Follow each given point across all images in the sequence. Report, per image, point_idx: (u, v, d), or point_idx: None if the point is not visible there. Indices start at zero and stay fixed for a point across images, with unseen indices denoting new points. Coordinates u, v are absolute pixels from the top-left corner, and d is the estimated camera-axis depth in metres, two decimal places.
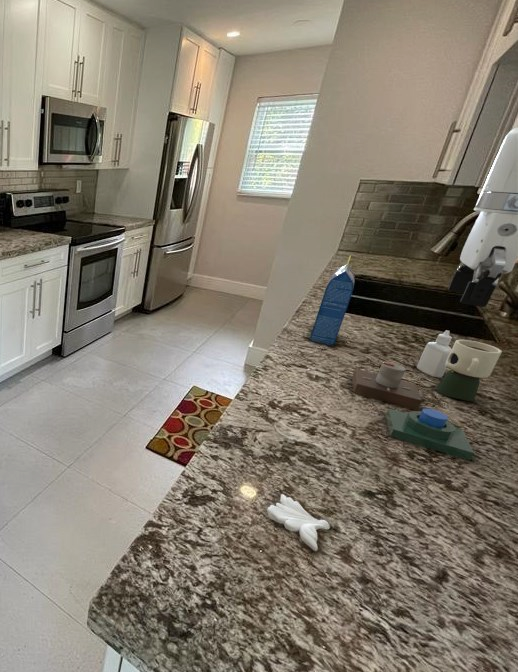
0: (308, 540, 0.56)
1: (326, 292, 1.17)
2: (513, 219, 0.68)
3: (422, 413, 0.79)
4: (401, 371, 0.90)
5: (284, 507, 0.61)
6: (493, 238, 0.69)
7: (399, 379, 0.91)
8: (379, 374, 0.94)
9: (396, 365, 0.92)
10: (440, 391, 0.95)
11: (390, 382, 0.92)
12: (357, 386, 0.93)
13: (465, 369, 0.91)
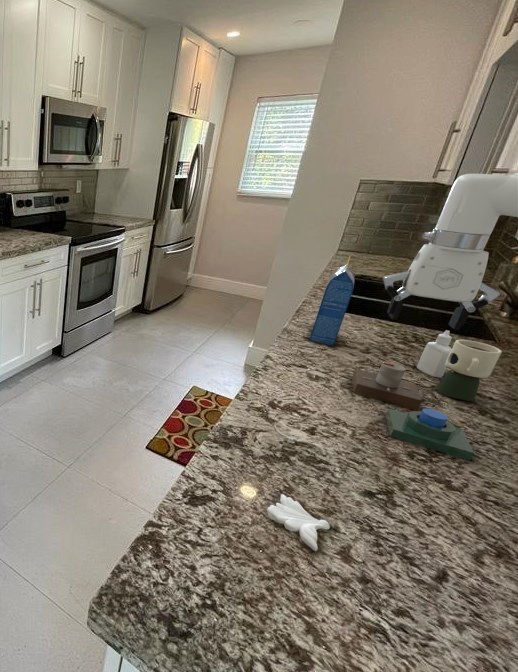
0: (308, 540, 0.56)
1: (326, 292, 1.17)
2: (422, 248, 0.82)
3: (422, 413, 0.79)
4: (401, 371, 0.90)
5: (284, 507, 0.61)
6: (412, 263, 0.84)
7: (399, 379, 0.91)
8: (379, 374, 0.94)
9: (396, 365, 0.92)
10: (440, 391, 0.95)
11: (390, 382, 0.92)
12: (357, 386, 0.93)
13: (465, 369, 0.91)
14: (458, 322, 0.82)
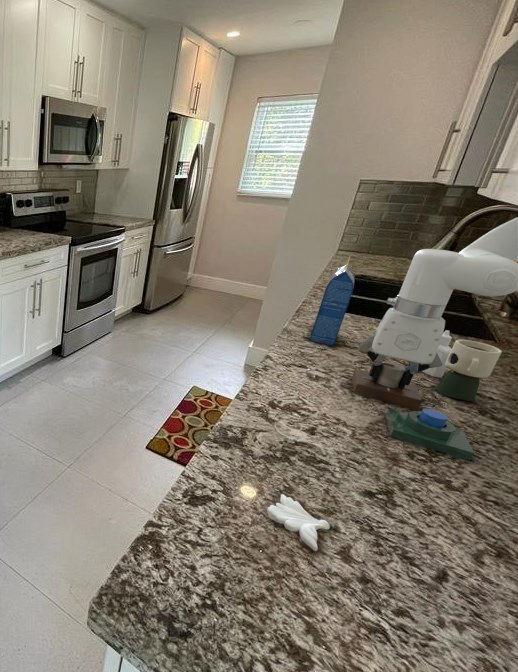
0: (308, 540, 0.56)
1: (326, 292, 1.17)
2: (386, 312, 0.90)
3: (422, 413, 0.79)
4: (401, 371, 0.90)
5: (284, 507, 0.61)
6: (379, 324, 0.93)
7: (399, 379, 0.91)
8: None
9: (396, 365, 0.92)
10: (440, 391, 0.95)
11: (390, 382, 0.92)
12: (357, 386, 0.93)
13: (465, 369, 0.91)
14: (403, 382, 0.91)
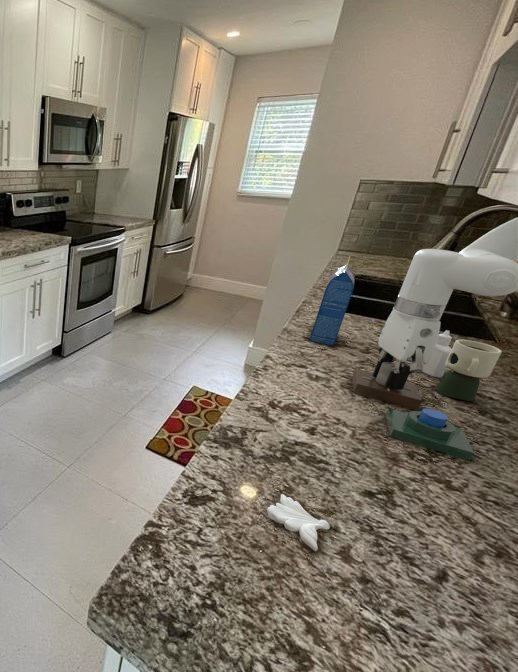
0: (308, 540, 0.56)
1: (326, 292, 1.17)
2: (430, 325, 0.84)
3: (422, 413, 0.79)
4: None
5: (284, 507, 0.61)
6: (417, 339, 0.85)
7: None
8: None
9: (388, 364, 0.93)
10: (440, 391, 0.95)
11: None
12: (357, 386, 0.93)
13: (465, 369, 0.91)
14: None
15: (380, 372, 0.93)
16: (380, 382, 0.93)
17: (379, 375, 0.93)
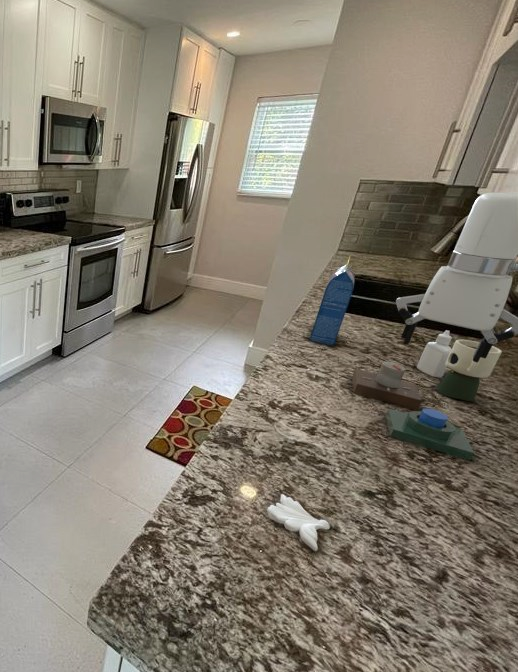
0: (308, 540, 0.56)
1: (326, 292, 1.17)
2: (511, 282, 0.71)
3: (422, 413, 0.79)
4: None
5: (284, 507, 0.61)
6: (505, 301, 0.71)
7: None
8: (398, 380, 0.91)
9: (388, 364, 0.93)
10: (440, 391, 0.95)
11: None
12: (357, 386, 0.93)
13: (465, 369, 0.91)
14: None
15: (381, 373, 0.93)
16: (381, 383, 0.93)
17: (380, 376, 0.93)
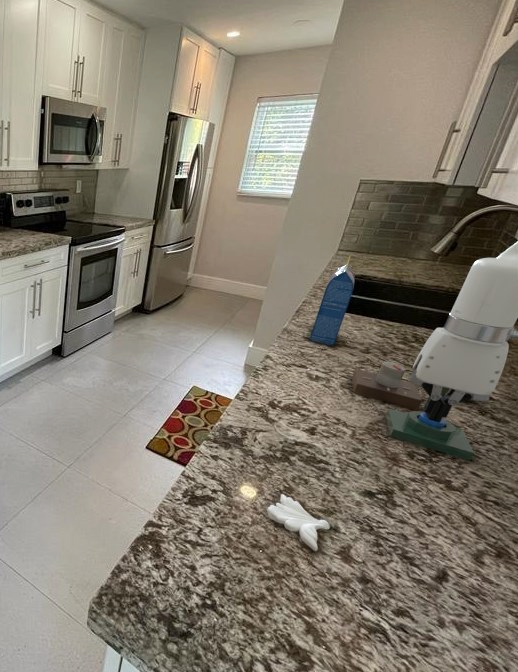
0: (308, 540, 0.56)
1: (326, 292, 1.17)
2: None
3: (420, 417, 0.79)
4: None
5: (284, 507, 0.61)
6: None
7: None
8: (398, 380, 0.91)
9: (388, 364, 0.93)
10: None
11: None
12: (357, 386, 0.93)
13: None
14: None
15: (381, 373, 0.93)
16: (381, 383, 0.93)
17: (380, 376, 0.93)
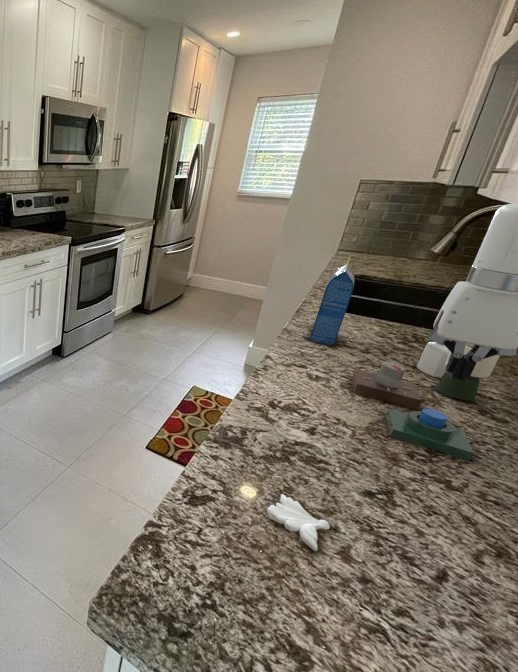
0: (308, 540, 0.56)
1: (326, 292, 1.17)
2: None
3: (422, 413, 0.79)
4: None
5: (284, 507, 0.61)
6: None
7: None
8: (398, 380, 0.91)
9: (388, 364, 0.93)
10: (440, 391, 0.95)
11: None
12: (357, 386, 0.93)
13: None
14: None
15: (381, 373, 0.93)
16: (381, 383, 0.93)
17: (380, 376, 0.93)
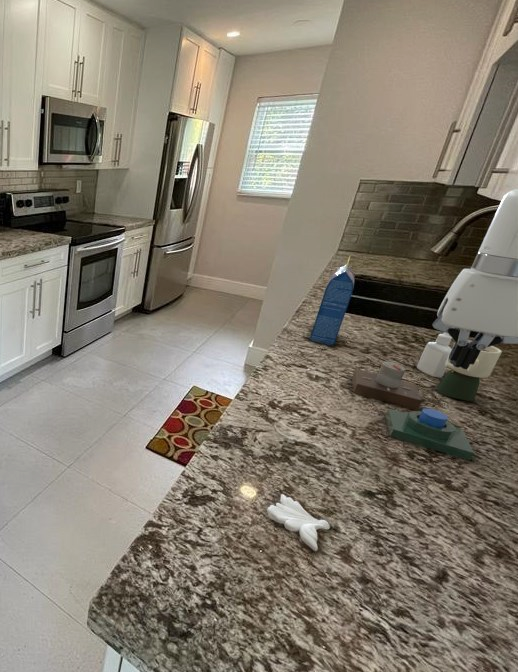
0: (308, 540, 0.56)
1: (326, 292, 1.17)
2: None
3: (422, 413, 0.79)
4: None
5: (284, 507, 0.61)
6: None
7: None
8: (398, 380, 0.91)
9: (388, 364, 0.93)
10: (440, 391, 0.95)
11: None
12: (357, 386, 0.93)
13: (465, 369, 0.91)
14: None
15: (381, 373, 0.93)
16: (381, 383, 0.93)
17: (380, 376, 0.93)
